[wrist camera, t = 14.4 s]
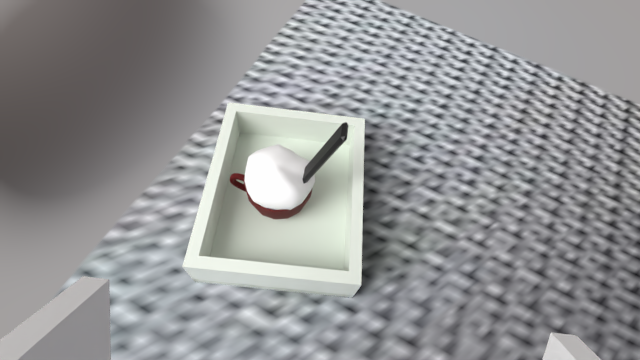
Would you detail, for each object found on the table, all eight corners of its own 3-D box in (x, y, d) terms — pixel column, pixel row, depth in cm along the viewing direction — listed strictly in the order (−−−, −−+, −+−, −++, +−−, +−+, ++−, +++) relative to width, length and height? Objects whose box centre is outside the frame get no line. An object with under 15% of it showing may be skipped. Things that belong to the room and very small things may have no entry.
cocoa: (227, 203, 35) (193, 126, 25) (263, 157, 38) (246, 70, 28) (311, 250, 33) (312, 188, 23) (343, 197, 36) (357, 121, 26)
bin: (357, 144, 41) (364, 118, 37) (352, 297, 32) (361, 285, 29) (233, 130, 41) (228, 102, 37) (194, 281, 32) (182, 266, 28)
